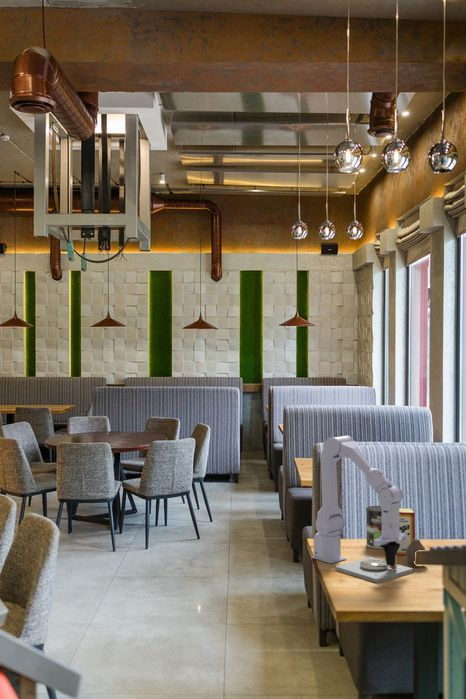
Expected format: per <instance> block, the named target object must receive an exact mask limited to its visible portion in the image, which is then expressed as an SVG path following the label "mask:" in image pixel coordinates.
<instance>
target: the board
mask: <svg viewBox="0 0 466 699" xmlns="http://www.w3.org/2000/svg"><path fill="white" fill-rule="evenodd" d="M371 559H372V560H381V561H385V562H386V560H385V559H380V558H376V557H373V556H369V557H366V558H365V557H364V558H362V559H358V560H355V561H351V562H347V563H343V564H339V565H336V566H335V571H338V572H341V573H343V574H346V575H350V576H353V577H357V578H360V579H363V580H366V581H370V582H372V583H376V584H378V583H381V582H385V581H389V580H392V579H395V578H398V577H399V578H400V577H402V576H406V575H409V574H412V573H414V567H413V568H412V567H408V566H406V565H405V566H404V565H401V564H397V569H391V568H387V569H385V570H379V571H373V570H366V569H363V568H361V567H360V562H361V561H363V560H371Z"/></svg>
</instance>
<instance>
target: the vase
mask: <svg viewBox="0 0 466 699" xmlns="http://www.w3.org/2000/svg"><path fill="white" fill-rule="evenodd" d="M418 550H426V548H425V546H424V545H423V544H422V542H421V540H420V539H418V538H415V539H413V540H412V542H411V543H410V545H409V546H408V547H407V550H406V556H405V559H406V561H407V564H408V565H409V566H410V567H412V566H413V568H423V566H421V567H420V566H416V565H415V564H414V561H415V552H416V551H418Z"/></svg>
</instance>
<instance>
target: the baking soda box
mask: <svg viewBox="0 0 466 699" xmlns="http://www.w3.org/2000/svg"><path fill="white" fill-rule="evenodd" d="M415 523H416V519H415V511H414V509H413V508H400V507H399V532H400V533H404V534H407V540H402V541H399V542H398V541H397V542H396V543H399V544H400V547H399V549H398V551H397V553H396V555H397V557H406V550H407V547H408V546H409V545H410V543H411V542H412V540H413V539H416V529H415V528H416V524H415Z"/></svg>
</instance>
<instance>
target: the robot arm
mask: <svg viewBox="0 0 466 699" xmlns="http://www.w3.org/2000/svg"><path fill="white" fill-rule="evenodd" d="M322 446H323V449H322V452H321V454H320V471H321V472H320V473H321V474H320V475H321V476H320V479H321V505H322V506H321V507H320V509H319V510H318V512H317V513H316V514H317V516H316V520H315V523H314V524H315V529H316V531H317V532H316V533H315V534H314V537H313V555H312V556H311V558H312V559H314V560H315V559H316V560H318V561H322V562H325V563H328V564H334V563H337V562H342V561H345V560H347V558H346V557H344V556H341V554H342V551H341V550H342V548H341V547H342V546H341V545H342V544H341V543H342V542H341V541H342V540H341V538H342V536H341V534H342V530H343V529H344V528H345V524H346V523H345V519H344V515H343V510H342V509H341V508H340V507H339V504H338V503H339V502H338V501H339V499H338V468H337V467H338V466H337V465H338V464H337V463H338V462H339V460H340V459H341V458H345V459H350V460H351V461H352V462H353V464H355V465H356V466H357V467H358V468H359V469H360V470H361V471H362V472H363V474H364V475H365V480H366V482H367V483H368V484H369V486H370V487H371V488H372V489H373V491H374V492H375V493H376V494H377V500H378V501H379V504H380V506H381V508H382V536H380V537H379V538H377V539H374V546H377V547H379V546H380V545H381V546H382V547H383V549H382V550H383V551H384V554H385V561H386V563H387V565H390V566H394V565H395V557H396V553H397V551H398V549H399V547H400V544H399V543H396V542H397V541H398V542H399V541H402V540H407V534H404V533H400V532H399V508H400V502H401V501H402V499H403V496H404V495H403V492H402V491H403V490H402V489H401V488H400V486H398V485H396V484H393V482H392V481H390V480H389V479H388V478H387V477H386V476H385V475H384V472H383V470H382V469H380V468H374V467H373V466H372V464H371V463H370V462H369V461H368V459H367V458H366V456H365V455H364V454H363V453H362V451H361V450H360V449H359V447H358V443H357V442H356V441H355V440H354V438H353V437H352V436H350V435H346V434H345V435H342V436H334V437H333V436H331V437H328V438H327V439H326V440H325V441H323V443H322Z"/></svg>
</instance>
